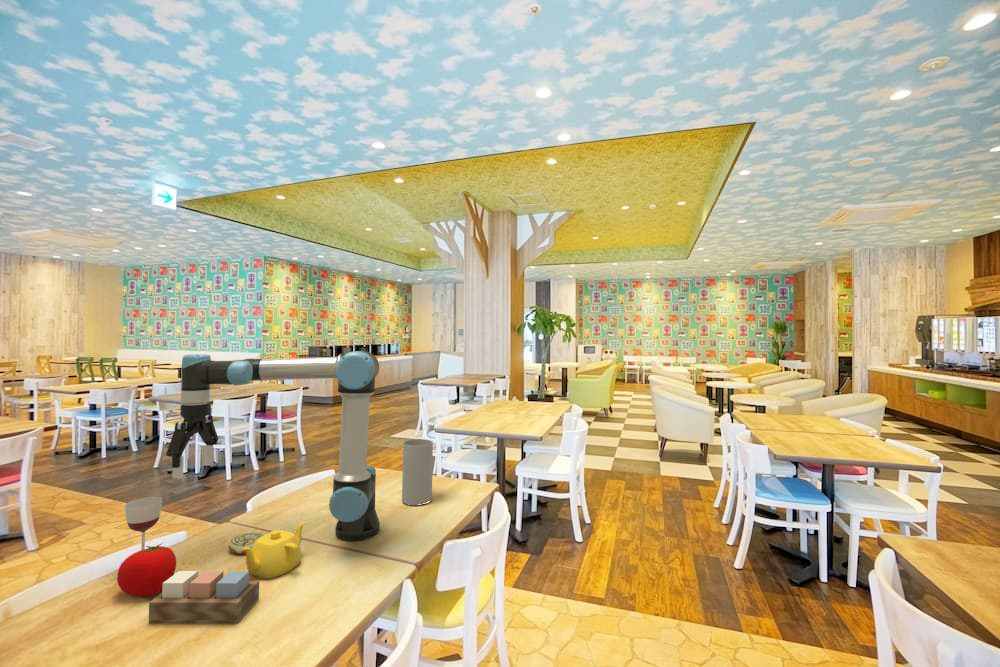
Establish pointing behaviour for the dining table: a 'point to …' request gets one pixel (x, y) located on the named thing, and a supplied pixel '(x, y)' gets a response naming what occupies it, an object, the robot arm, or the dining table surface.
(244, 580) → the slate key
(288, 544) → the teapot
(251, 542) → the decorated donut
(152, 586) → the tomato
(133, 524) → the wineglass
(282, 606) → the dining table surface
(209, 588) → the terracotta key
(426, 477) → the cylinder vase
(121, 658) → the dining table surface
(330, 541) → the dining table surface
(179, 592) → the ivory key
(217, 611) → the key block
